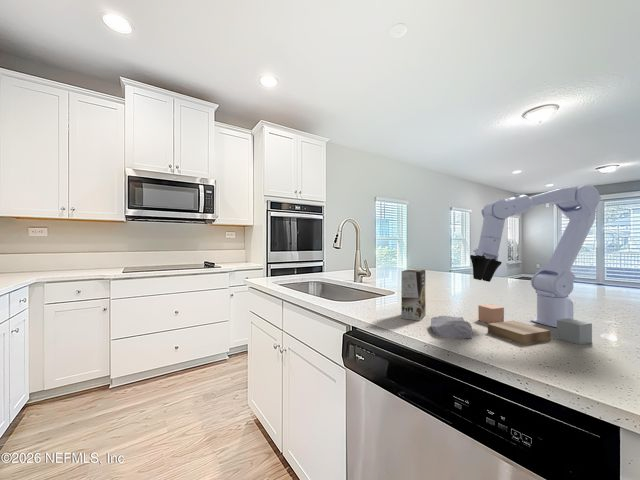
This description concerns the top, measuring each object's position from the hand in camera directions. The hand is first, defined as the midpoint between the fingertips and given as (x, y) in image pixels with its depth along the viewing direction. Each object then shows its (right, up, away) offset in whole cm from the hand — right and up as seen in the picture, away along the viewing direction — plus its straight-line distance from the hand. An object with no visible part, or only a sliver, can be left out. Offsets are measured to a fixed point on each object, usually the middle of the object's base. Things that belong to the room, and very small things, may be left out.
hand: (481, 280), depth 88 cm
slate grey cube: (+15, -14, -15) cm, 26 cm away
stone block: (-14, -14, -8) cm, 22 cm away
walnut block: (+3, -14, -12) cm, 19 cm away
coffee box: (-19, -14, +8) cm, 25 cm away
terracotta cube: (+4, -14, +2) cm, 14 cm away
